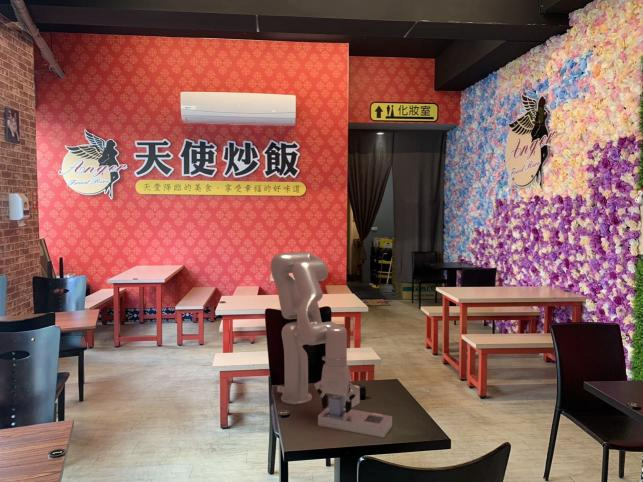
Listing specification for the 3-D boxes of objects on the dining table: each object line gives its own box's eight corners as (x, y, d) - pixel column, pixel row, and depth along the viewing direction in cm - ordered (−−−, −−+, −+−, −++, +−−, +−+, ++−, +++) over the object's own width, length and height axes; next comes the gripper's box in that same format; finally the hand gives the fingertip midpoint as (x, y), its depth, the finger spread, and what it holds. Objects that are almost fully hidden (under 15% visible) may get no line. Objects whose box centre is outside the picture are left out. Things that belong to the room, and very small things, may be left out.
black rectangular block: (344, 394, 198) (344, 383, 198) (358, 391, 202) (358, 380, 202) (362, 403, 188) (362, 391, 188) (376, 399, 192) (376, 388, 192)
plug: (329, 423, 167) (329, 397, 167) (333, 419, 171) (333, 393, 170) (339, 425, 165) (339, 398, 165) (343, 420, 169) (343, 394, 168)
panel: (318, 426, 165) (317, 415, 165) (329, 416, 175) (329, 405, 174) (383, 439, 155) (383, 427, 155) (392, 427, 165) (392, 415, 164)
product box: (347, 401, 189) (347, 383, 189) (360, 404, 186) (360, 386, 186) (338, 405, 184) (338, 387, 184) (351, 409, 181) (351, 390, 181)
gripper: (309, 361, 167) (310, 409, 168) (355, 367, 160) (355, 417, 161) (318, 355, 174) (318, 402, 175) (362, 361, 167) (363, 409, 168)
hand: (336, 409), depth 168 cm, fingers open, 8 cm apart
